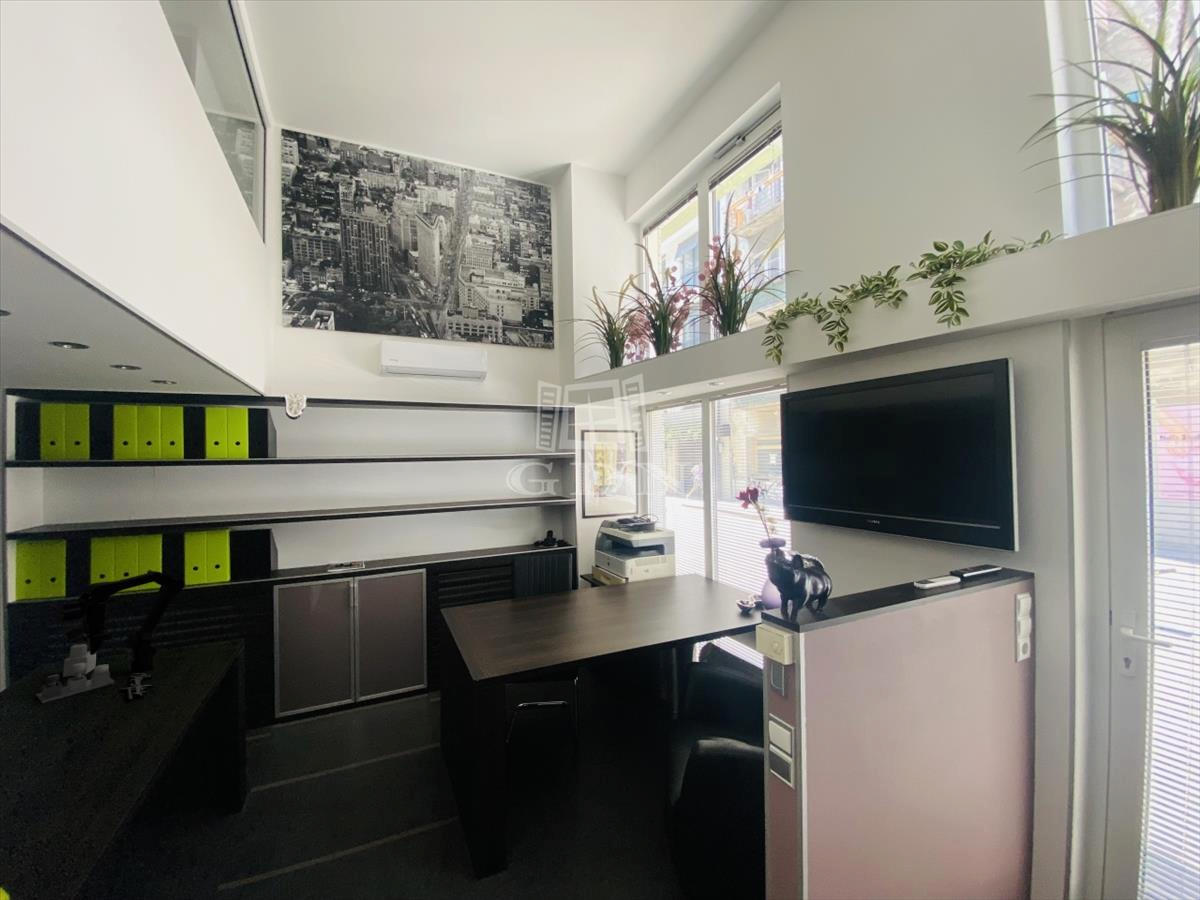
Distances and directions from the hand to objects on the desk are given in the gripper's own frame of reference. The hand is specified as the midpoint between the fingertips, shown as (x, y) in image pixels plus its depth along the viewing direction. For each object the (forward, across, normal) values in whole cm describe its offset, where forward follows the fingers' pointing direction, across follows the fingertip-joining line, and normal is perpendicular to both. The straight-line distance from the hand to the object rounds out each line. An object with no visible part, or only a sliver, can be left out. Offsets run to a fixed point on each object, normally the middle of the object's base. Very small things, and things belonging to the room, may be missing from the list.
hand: (92, 654), depth 186 cm
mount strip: (+12, 0, -4) cm, 13 cm away
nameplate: (+13, +16, +10) cm, 23 cm away
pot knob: (+9, 0, -10) cm, 13 cm away
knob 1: (+9, 0, -4) cm, 9 cm away
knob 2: (+11, 0, +3) cm, 12 cm away
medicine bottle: (+12, -20, +1) cm, 23 cm away
